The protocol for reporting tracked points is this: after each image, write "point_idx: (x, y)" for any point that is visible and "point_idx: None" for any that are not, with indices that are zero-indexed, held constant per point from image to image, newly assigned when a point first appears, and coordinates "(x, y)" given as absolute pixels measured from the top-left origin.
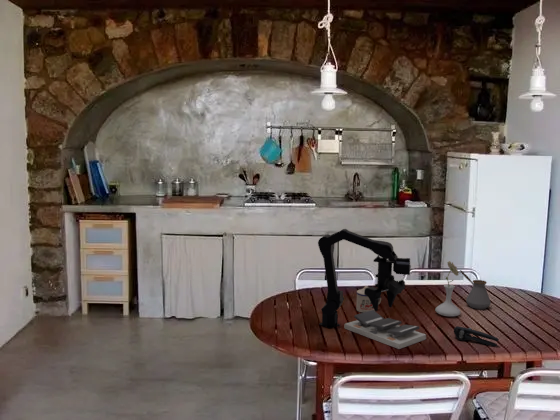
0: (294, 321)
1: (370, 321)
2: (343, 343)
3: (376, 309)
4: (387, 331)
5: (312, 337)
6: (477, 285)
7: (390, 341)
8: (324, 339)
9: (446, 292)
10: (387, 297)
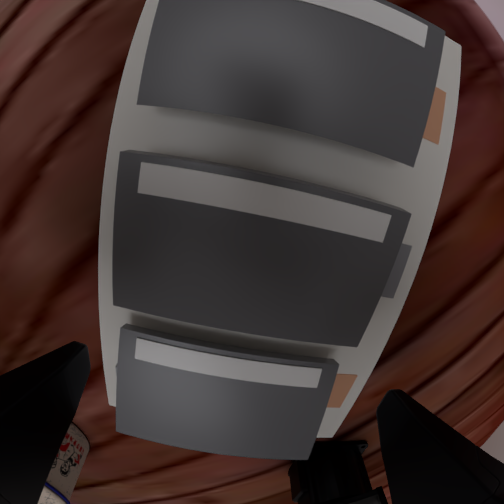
0: None
1: (274, 373)
2: (495, 315)
3: (418, 405)
4: (411, 159)
5: (466, 410)
6: None
7: (455, 105)
8: (475, 381)
9: None
10: (44, 483)
